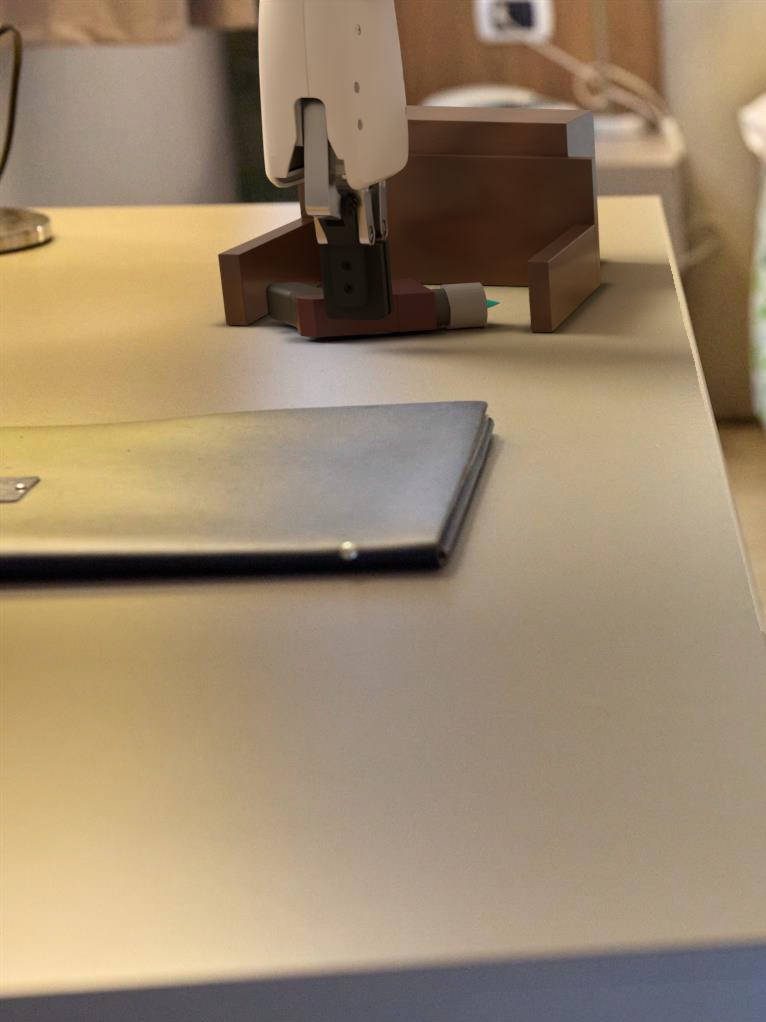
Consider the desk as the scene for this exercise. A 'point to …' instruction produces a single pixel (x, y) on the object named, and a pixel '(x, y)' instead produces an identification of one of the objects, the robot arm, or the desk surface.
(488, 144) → the brown u-shaped frame
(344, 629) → the desk surface
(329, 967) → the desk surface
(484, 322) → the toy gun
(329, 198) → the robot arm
